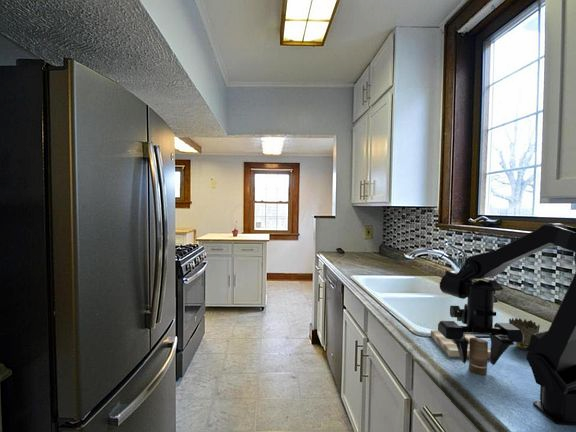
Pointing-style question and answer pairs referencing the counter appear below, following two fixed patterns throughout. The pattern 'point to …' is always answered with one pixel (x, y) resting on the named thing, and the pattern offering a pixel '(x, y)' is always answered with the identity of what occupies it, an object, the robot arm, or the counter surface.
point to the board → (452, 344)
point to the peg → (478, 356)
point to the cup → (525, 331)
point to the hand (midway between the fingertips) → (477, 363)
